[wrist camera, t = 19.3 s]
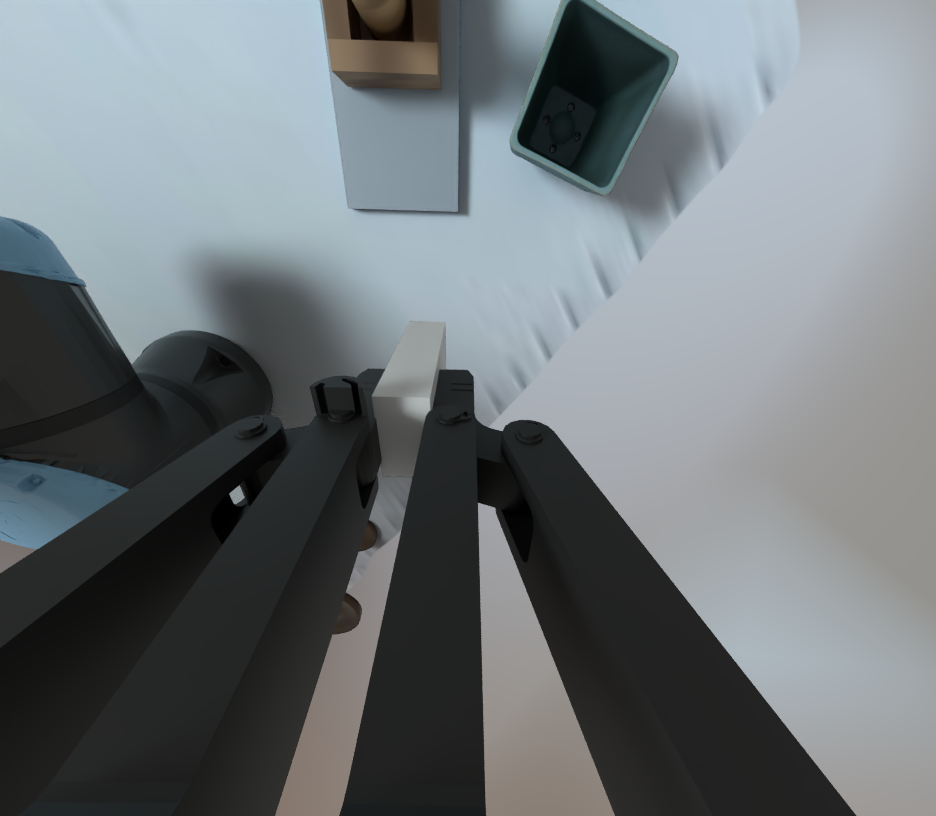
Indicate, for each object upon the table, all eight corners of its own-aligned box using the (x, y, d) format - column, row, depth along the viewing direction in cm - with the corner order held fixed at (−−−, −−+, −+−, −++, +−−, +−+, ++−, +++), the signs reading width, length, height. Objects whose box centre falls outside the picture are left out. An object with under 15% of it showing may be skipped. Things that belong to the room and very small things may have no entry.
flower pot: (541, 40, 28) (568, -21, 21) (629, 93, 30) (683, 54, 22) (498, 159, 33) (507, 145, 25) (576, 200, 34) (607, 198, 27)
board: (351, 208, 35) (338, 208, 31) (312, -90, 25) (287, -137, 22) (458, 211, 35) (456, 212, 31) (461, -84, 25) (459, -130, 22)
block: (347, 86, 29) (331, 70, 25) (330, -61, 25) (308, -103, 21) (441, 89, 29) (437, 74, 26) (439, -56, 25) (435, -98, 21)
